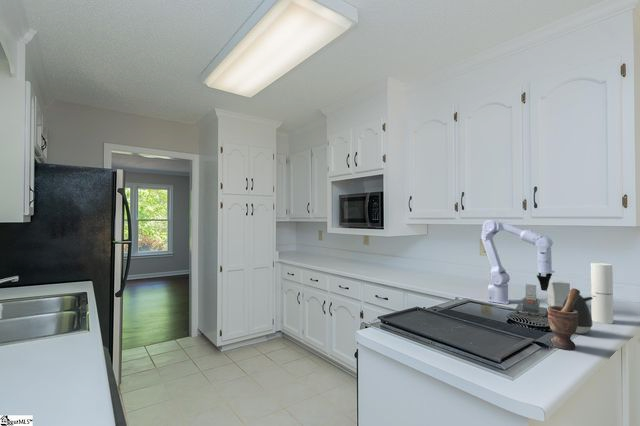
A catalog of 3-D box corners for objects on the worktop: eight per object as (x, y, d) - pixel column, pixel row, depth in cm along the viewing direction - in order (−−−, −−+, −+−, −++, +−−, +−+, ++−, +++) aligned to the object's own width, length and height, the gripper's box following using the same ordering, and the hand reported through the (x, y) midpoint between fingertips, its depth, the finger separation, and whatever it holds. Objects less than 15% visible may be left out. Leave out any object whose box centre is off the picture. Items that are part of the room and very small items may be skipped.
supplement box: (570, 308, 163) (570, 283, 163) (553, 307, 164) (553, 282, 164) (562, 304, 170) (562, 280, 170) (546, 304, 171) (546, 279, 171)
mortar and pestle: (555, 337, 124) (555, 284, 124) (584, 344, 117) (583, 288, 117) (544, 345, 117) (543, 289, 117) (574, 353, 110) (573, 293, 110)
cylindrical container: (608, 324, 138) (607, 265, 138) (588, 320, 144) (587, 263, 145) (616, 322, 141) (615, 264, 142) (596, 317, 148) (595, 262, 148)
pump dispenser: (596, 338, 123) (595, 297, 123) (562, 333, 128) (561, 294, 129) (590, 329, 132) (589, 292, 132) (558, 325, 137) (557, 289, 137)
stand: (515, 312, 156) (514, 300, 156) (518, 307, 166) (518, 295, 166) (545, 317, 149) (545, 304, 149) (547, 311, 158) (547, 298, 158)
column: (525, 302, 157) (525, 285, 157) (526, 301, 160) (526, 283, 160) (535, 304, 154) (535, 286, 154) (536, 302, 158) (536, 285, 158)
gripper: (553, 263, 153) (554, 292, 152) (555, 260, 164) (555, 287, 164) (535, 262, 157) (535, 290, 157) (538, 259, 168) (538, 285, 168)
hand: (544, 289), depth 161 cm, fingers open, 7 cm apart
